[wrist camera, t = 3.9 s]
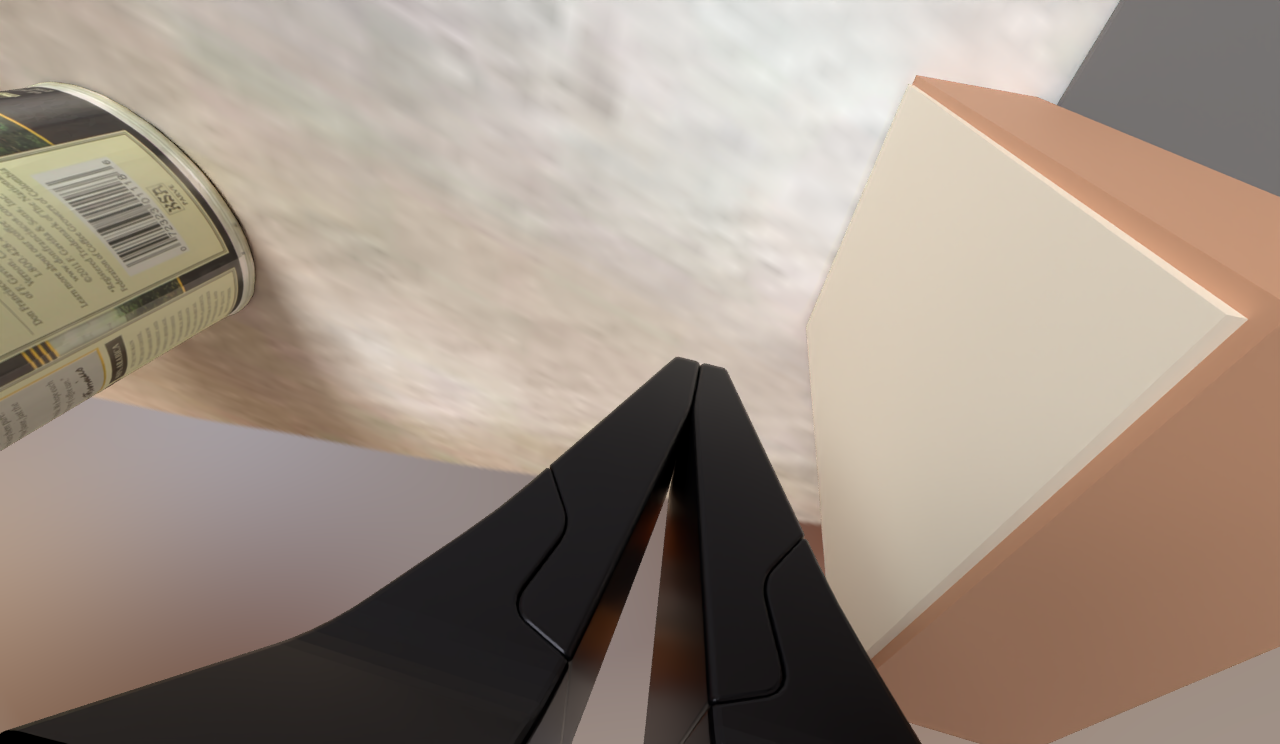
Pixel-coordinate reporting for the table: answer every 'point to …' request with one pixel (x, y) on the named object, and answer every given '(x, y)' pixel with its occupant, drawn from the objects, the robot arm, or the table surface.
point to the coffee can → (100, 251)
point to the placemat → (1190, 82)
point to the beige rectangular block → (1047, 417)
